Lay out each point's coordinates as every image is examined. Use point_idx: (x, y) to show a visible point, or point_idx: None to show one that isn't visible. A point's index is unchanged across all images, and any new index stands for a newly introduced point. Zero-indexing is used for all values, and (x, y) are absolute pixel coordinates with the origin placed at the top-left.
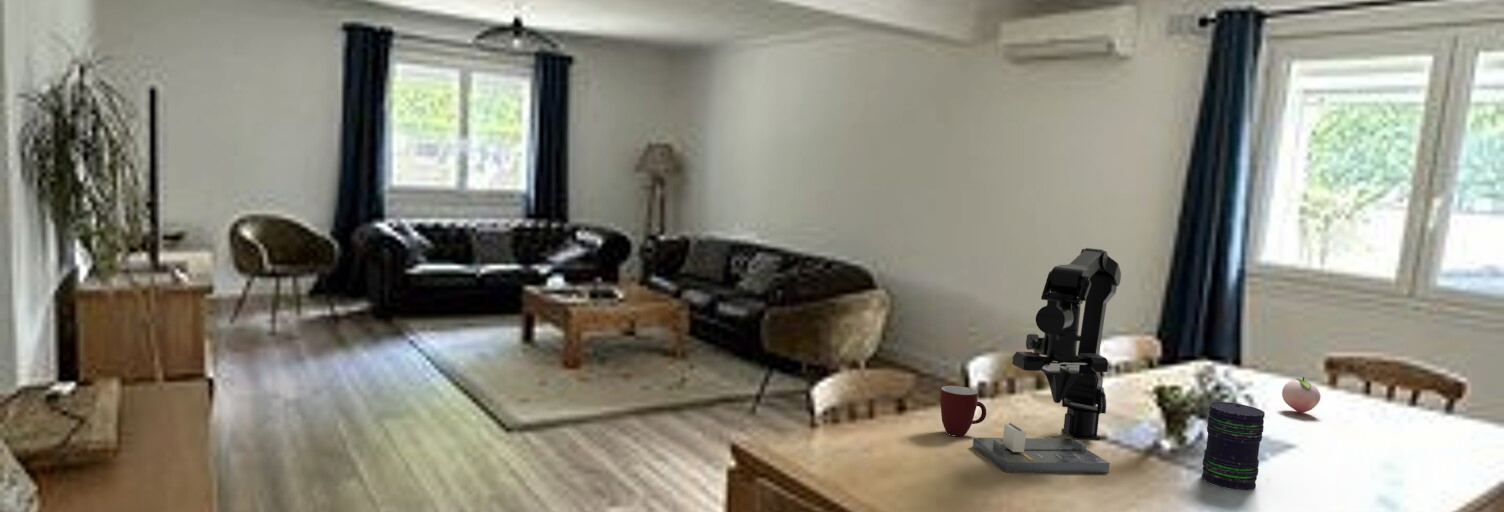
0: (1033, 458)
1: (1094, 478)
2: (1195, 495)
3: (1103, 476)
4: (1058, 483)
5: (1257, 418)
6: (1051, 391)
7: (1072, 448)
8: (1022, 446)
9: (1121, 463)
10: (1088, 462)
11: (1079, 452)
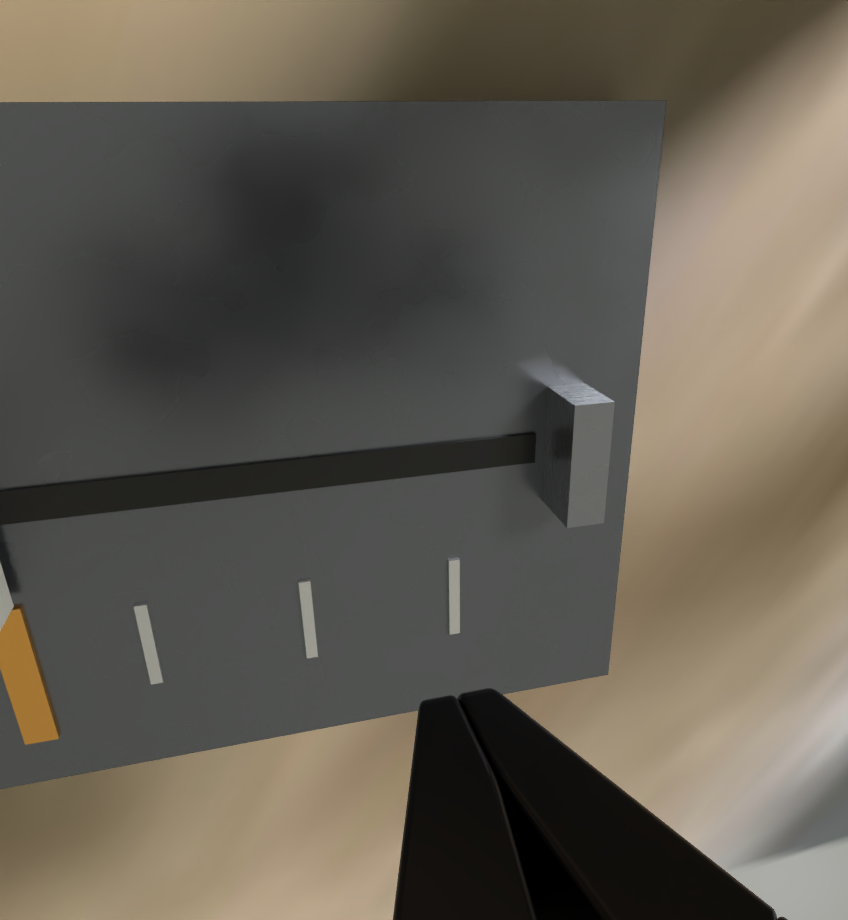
0: (71, 699)
1: None
2: (782, 826)
3: (513, 695)
4: (177, 851)
5: None
6: (400, 887)
7: (528, 406)
8: None
9: (772, 457)
10: None
11: (527, 501)
